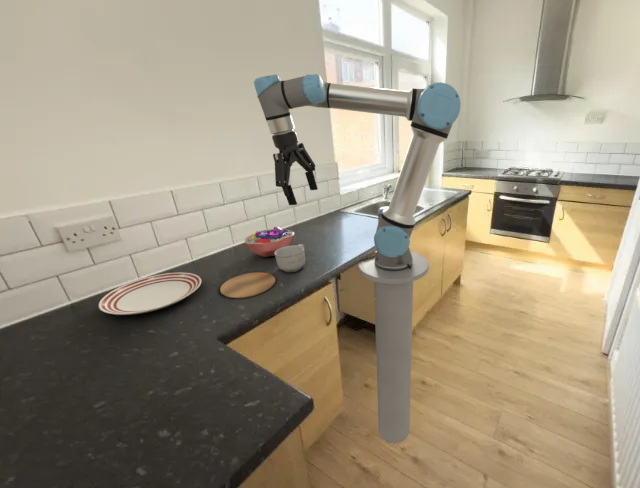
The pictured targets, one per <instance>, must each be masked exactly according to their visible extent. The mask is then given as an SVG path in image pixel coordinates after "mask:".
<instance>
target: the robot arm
mask: <svg viewBox="0 0 640 488" xmlns="http://www.w3.org/2000/svg"><path fill="white" fill-rule="evenodd" d="M253 86H254V89H255V91H256V95H257V96H256V97H257V99H258V101H259V104H260V106H261V107H260V108H261V110H262V113H263V115H264V118H265V121H266V123H267V127H268V130H269V132H270V135H272V137H271V139H272V142H273V144H274V147H275V149H278V152H277V153H276V152H275V153H272V158H273V161H274V177H275V179H274V181H275V186H276V187H277V188H278V187H279V188H281V189H282V192H283V194H284V196H285V198H286V201H287V203H288V206H297V205H298V202H297V200H296V196H295V194H294V189H293V187H292V185H291V184H289V183H290V175H291V167H292V166H293V164H294V163H295V162H296V163H297V164H298V165H299V166H300V167H301V168H302V169H304V170H305V172H304V174H305V178H306V180H307V184H308V187H309V190H310V191H318V189H319V188H318V184H317V181H316V178H315V174H314V171H316V164H315V162H314V160H313V159H312V158H311V156H310V154H309V153H308V151H307V150H306V148H305V145H304V143H303V142H300V141H299V138H298V134H297V131H295V130H294V129H295V128H296V127H295V123H294V121H293V117H292V115H291V112H290V110H293V109H297V108H303V107H314V108H323V109H334V110H341V111H349V112H351V111H352V112H359V113H369V114H377V115H384V116H385V115H386V116H394V117H404V118H405V119H406V120H407V121H408V122H409V121H410V122H411V123H410V125H409V128H410V130H411V133H412V136H411V139H410V142H409V145H408V148H407V150H406V154H405V157H404V160H403V163H402V166H401V169H400V172H399V175H398V177H397V181H396V184H395V187H394V191H393V193H392V197H391V200H390V203H389V205H388V206H381V207H380V208H378V210H377V219H378V220H377V227H376V230H375V233H374V236H373V243H374V247H375V249H376V251H377V253H376V252H375V255H374V256H375V265H376V267H378V268H380V269H382V270H386V271H401V270H405V269H407V268H409V269H411V268H412V267H411V266H412V263H413V258H412V255H411V252H410V251H411V250H410V243H411V236H412V233H413V230H414V228H415V225H416V220H415V217H414V215H415V212H416V209H417V206H418V204H419V201H420V199H421V197H422V196H421V195H422V193H423V191H424V188H425V185H426V182H427V180H428V177H429V175H430V172H431V168H432V166H433V163H434V160H435V158H436V156H437V152H438V149H439V147H440V144H442V143H443V142H445V141H446V140H448V137H449V134H450V132H451V129H452V127H453V124H454V123H455V121H456V120H457V118H459V115H460V112H461V98H460V95H459V93H458V91H457V90H456V89H455V88H454V86H452V85H450V84H448V83H446V82H433V83H431V84H429V85H427V86H426V87H424V88H413V87H412V88H410V89H409V90H399V89H390V88H379V87H371V86H361V85H354V84H343V83H334V82H325V81H324V80H323V78H322V77H321V75H320V74H317V73H313V74H305V75H303V76H298V77H295V78H291V79H285V80H281V78H280V76H279V75H278V74H269V75H264V76H260V77H256V78H255V79H254V81H253Z"/></svg>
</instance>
